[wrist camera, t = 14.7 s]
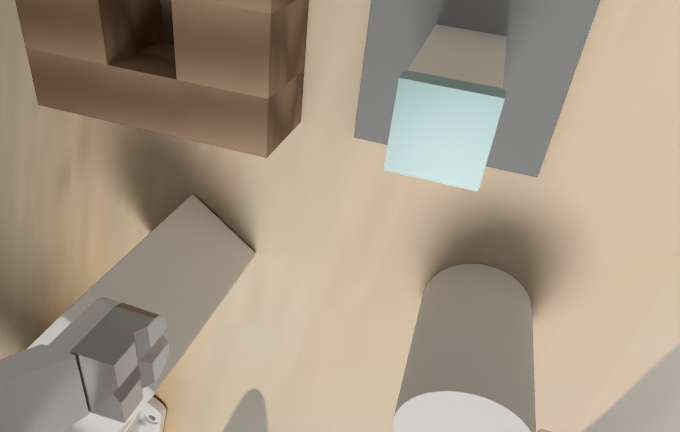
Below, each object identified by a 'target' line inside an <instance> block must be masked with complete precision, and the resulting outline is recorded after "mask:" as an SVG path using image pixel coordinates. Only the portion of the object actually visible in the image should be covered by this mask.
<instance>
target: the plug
mask: <svg viewBox="0 0 680 432" xmlns="http://www.w3.org/2000/svg"><path fill="white" fill-rule="evenodd" d="M506 42H507V36H502V35H496V34H490V33H484V32H479V31H473V30H467V29H461V28H456V27H450V26H444V25H438V24H436V25H435V27H434V28H433V30H432V32H431V33H430V35H429V36H428V38H427V40H426V41H425V43H424V45H423V46H422V48H421V49H420V51H419V53H418V54H417V56H416V57H415V59H414V61H413V62H412V64H411V65H410V67H409V69H408V70H404V71H403V72H402V74H401V75H400V77H399V81H398V86H397V92H396V98H395V104H394V110H393V116H392V122H391V128H390V134H389V140H388V146H387V151H386V157H385V163H384V169H383V170H386V171H390V172H394V173H399V174H403V175H407V176H412V177H416V178H421V179H425V180H429V181H434V182H438V183H443V184H447V185H451V186H456V187H460V188H465V189H469V190H473V191H478V190H479V187H480V183H481V180H482V177H483V173H484V170H485V166H486V163H487V159H488V156H489V152H490V149H491V145H492V142H493V138H494V135H495V132H496V128H497V125H498V121H499V118H500V114H501V111H502V107H503V104H504V100H505V91H506V89H503V79H504V66H505V54H506Z"/></svg>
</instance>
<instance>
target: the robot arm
mask: <svg viewBox="0 0 680 432" xmlns="http://www.w3.org/2000/svg"><path fill="white" fill-rule="evenodd" d="M166 329H167V325H166V319H165V317H164V316H161V315H158V314H155V313H152V312H149V311H146V310H143V309H140V308H137V307H134V306H131V305H128V304H125V303H122V302H119V301H115V300H112V299H109V298H106V297H101V298H99V299H96V300H95V301H94V302H93V303H91V304H90V305H89V306H88V307H87V308H86V309H85V310H84V311H83V312H82V313H81V314H80V315H79V316H78V317H77V318H76V319H75V320H74V321H73V322H72V323H71V324H70V325H68V326H67V327H66V328H65V329H64V330H63V331H62V332H61V333H60V334H59V335H58V336H57V337H56V338H55V339H54V340H53V341H52V342H51V343H50V344H49V345H48V346H47V345H44V344H40V345H37V346H35V347H32V348H30V349H27V350H24V351H22V352H19V353H16V354H14V355H11V356H9V357H6V358H3V359H1V360H0V432H61V431H62V430H64V429H66V428H67V427H69V426H71V425H72V424H74V423H76V422H78V421H79V420H81V419H83V418H84V417H86V416H88V415H89V412H90V413H94V414H97V415H100V416H103V417H106V418H110V419H113V420H116V421H119V422H123V423H125V422H126V421H127V419H128V418H129V417H130V415H131V414H132V413H133V411H134V410H135V409H136V407H137V406H138V405H139V403H140V402H141V401H142V399H143V388H145V387H147V386H149V385H151V384H153V383H155V382H156V380H157V379H158V377H159V376H160V375H161V373H162V372H163V369H164V367H165V365H166V362H167V360H168V354H169V343H168V341H167V340H166V338H165V337H164V336H163V332H164V331H165V330H166ZM165 417H166V408H165V406H164V405H163V404H162V403H161V402H160V401H159V400H157V399H156V398H155V397H152V398H151V399H150V400H149V401H148V402H147V403H146V404H145V405H144V406H143V407H142V408H141V409H140V410H139V411H138V412H137V413H136V414H135V415H134V416H133V417H132V418H131V419H130V420H129V421H128V423H127V424H126V425H125V426H124V427H123V428H122V429H121V430H120V431H119V432H163V429H164V423H165ZM537 432H550V431H547V430H543V429H540V430H538V431H537Z"/></svg>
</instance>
